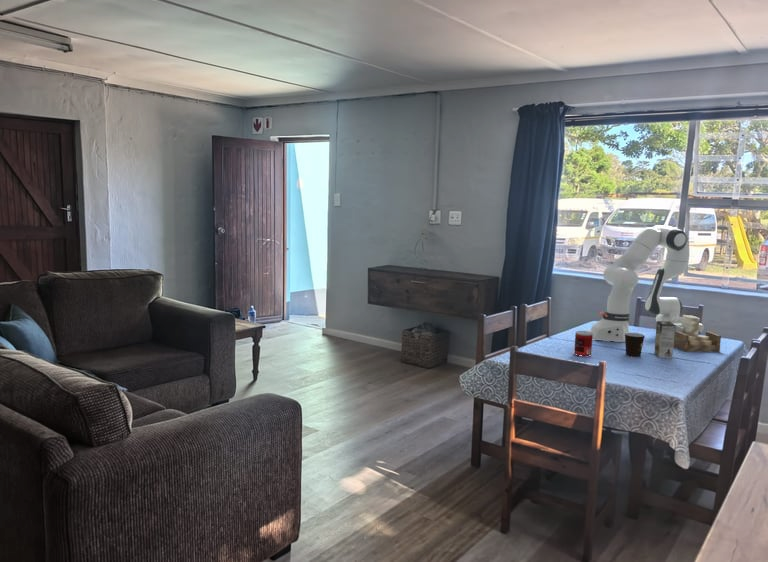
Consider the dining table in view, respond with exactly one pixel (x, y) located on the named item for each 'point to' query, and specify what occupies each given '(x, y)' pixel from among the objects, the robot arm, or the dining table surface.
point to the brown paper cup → (634, 344)
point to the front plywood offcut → (699, 342)
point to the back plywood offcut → (698, 338)
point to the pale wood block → (690, 325)
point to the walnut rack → (682, 344)
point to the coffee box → (664, 339)
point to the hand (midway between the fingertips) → (689, 329)
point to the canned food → (583, 343)
